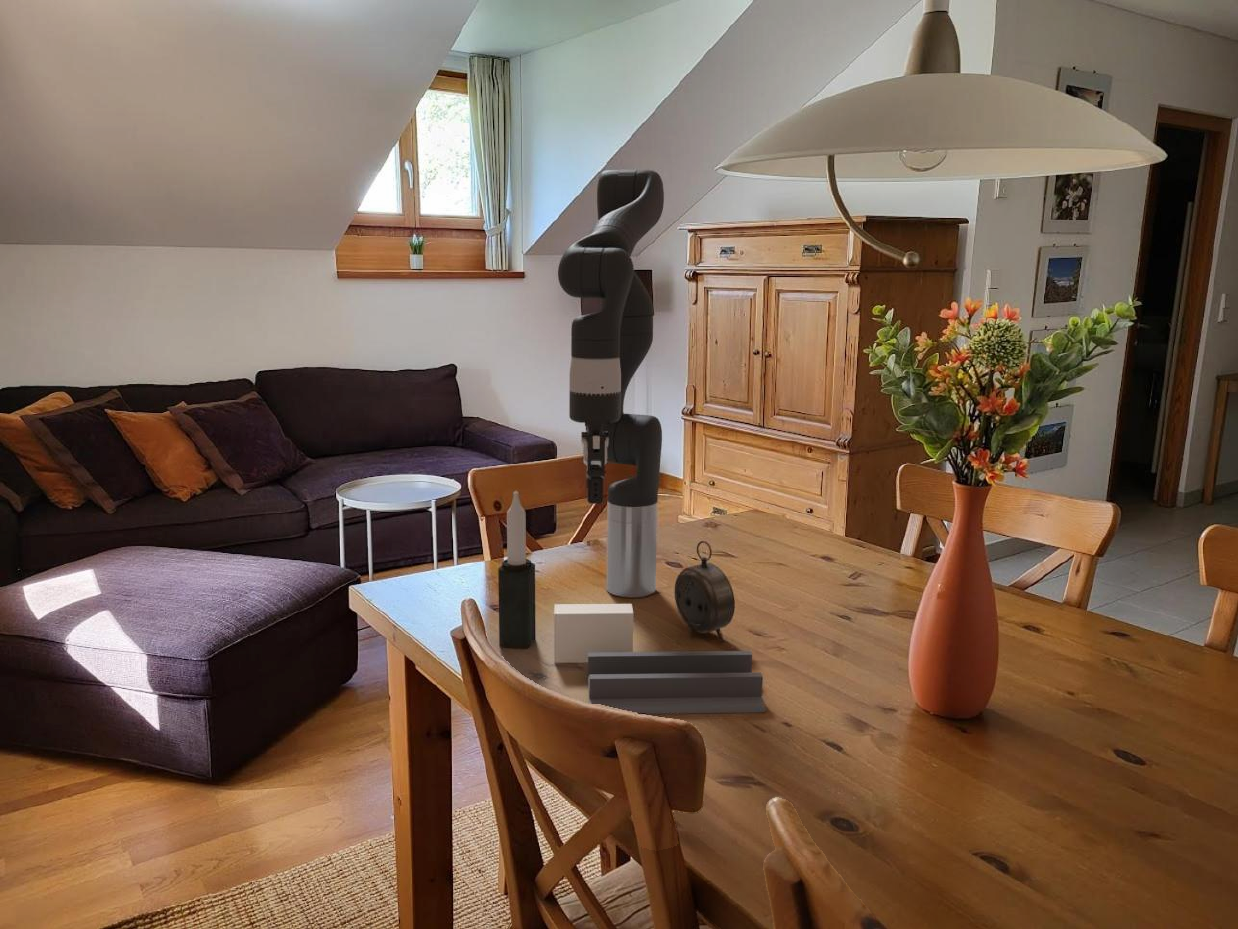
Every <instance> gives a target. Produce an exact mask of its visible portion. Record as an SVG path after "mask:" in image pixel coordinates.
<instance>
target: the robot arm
mask: <svg viewBox="0 0 1238 929" xmlns="http://www.w3.org/2000/svg"><path fill="white" fill-rule="evenodd" d="M596 187H597V188H596V189H597V190H596V207H597V208H596V209H597V222H595V224H594V225H593V227H592V229H591V231H590V232H589V234H588V235H585V236H584V237H582V238H581V239H579V240H578V241H576V242H574V243H572V244H571V245H570V246H569V247H568V248H567V249H566V250H565V251H564V253H563V255H562V256H561V258H560V260H559V263H558V270H557V278H558V283H559V285H560V287H561V288H562V290H563V291H564V293H566V295H569V297H573V298H578V299H579V298H580V299H600V311H598V312H593V313H589V314H584V315H579V316H576V317H575V318H573V320H572V322H571V327H570V328H571V329H570V330H571V331H570V332H571V334H570V335H571V338H570V339H571V340H570V345H571V346H570V349H571V350H570V351H571V353H570V356H571V360H570V368H569V387H568V388H569V397H568V398H569V404H568V405H569V408H568V410H569V412H568V414H569V415H568V416H569V419H570V420H571V421H573V422H576V423H581V424H584V427H585V431H582V430H581V431H580V432H581V436H580V437H581V438H580V439H581V441H580V442H581V447H582V455H583V464H584V465H586V472H585V478H586V479H585V481H586V482H585V484H586V489H587V502H588V503H589V504H591V505H592V504H595V505H597V504H600V505H601V504H602V503H603V501H604V478H605V477H606V473H607V472H606V469H605V468H606V464H607V463H611V464H617V465H618V464H619V465H629V466H636V472H635V475H633V476H632V477H629V478H625V479H622V480H618V481H615V482H613V483H611V484H610V485H609V486H608V488H607V518H606V519H607V525H606V526H607V528H606V534H607V536H606V591H607V592H608V593H609V594H611V595H614V596H616V597H621V598H643V597H647V596H650V595H652V594H654V593H656V586H657V585H656V584H657V546H658V544H657V543H658V542H657V541H658V540H657V538H658V535H657V534H658V496H659V486H660V473H661V472H660V471H661V457H662V447H663V446H662V445H663V429H662V424H661V422H660V420H659V418H657V417H656V416H654V415H646V414H636V413H624V406H625V403H624V402H625V397H626V393H627V390H628V386H629V385H630V382H631V380H632V379H633V377H634V375H635V374H636V372H637V370H638V369H639V367H640V366H641V364H642V363H643V361H644V359H645V358H646V356H648V355H647V354H648V353H649V351H650V349H651V346H652V344H653V341H654V304H653V302H652V301H653V300H652V298H651V296H650V294H649V292H648V290H647V289H646V287H645V285H644V284H643V282H642V280H641V279H640V277H639V276H638V275H637V272H636V271H635V269H634V262H633V259H632V257H631V256H632V253H633V251H634V248H635V247H636V245H637V244H638V242H639V241H640V240H642V238H643V237H644V236H646V235H647V234H648V233H649V231H650V230H652V229H653V228H654V227H655V226H656V224H657V223H658V222H659V221H660V218H661V217H662V214H663V209H664V204H665V203H664V202H665V201H664V200H665V192H664V191H665V190H664V183H663V179H662V177H661V175H660V174H659V173H658V172H656V171H655V170H653V169H607V170H604V171H602V172H601V173H600V175H599V177H598V181H597V186H596Z"/></svg>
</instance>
